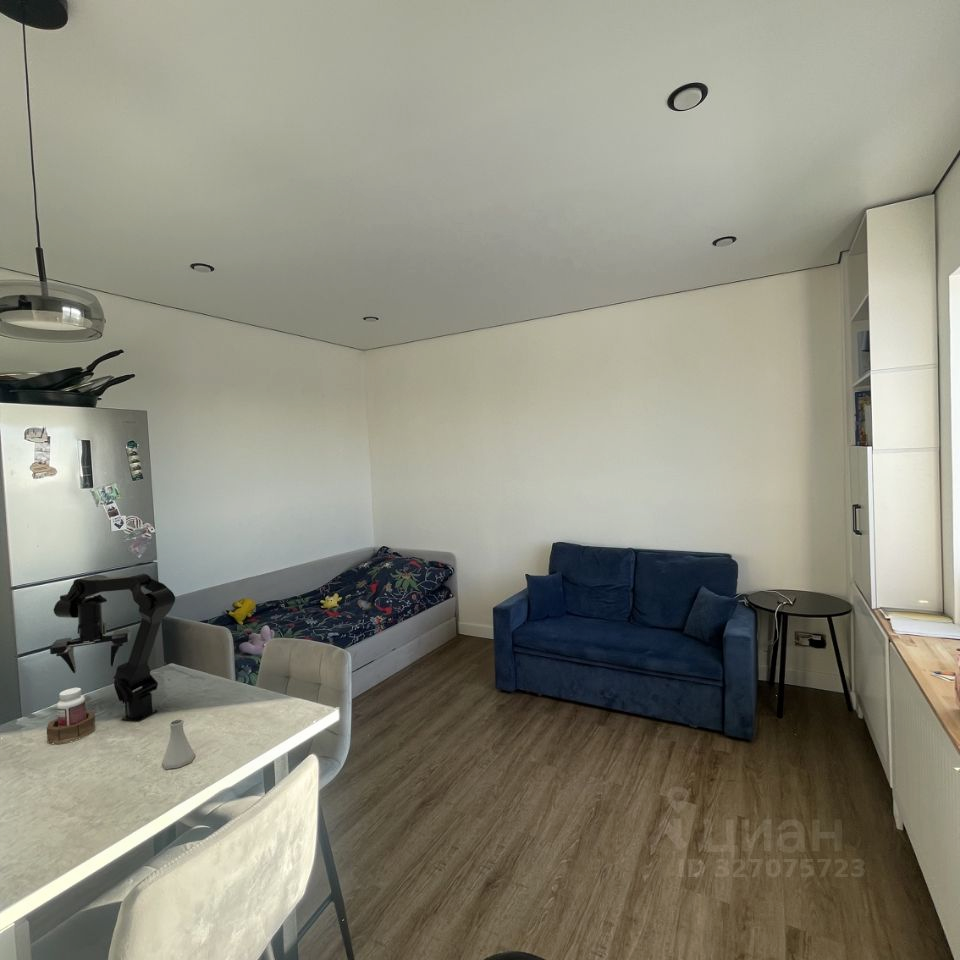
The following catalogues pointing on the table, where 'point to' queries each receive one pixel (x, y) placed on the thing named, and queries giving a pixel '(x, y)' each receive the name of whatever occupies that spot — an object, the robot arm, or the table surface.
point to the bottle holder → (70, 730)
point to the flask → (177, 747)
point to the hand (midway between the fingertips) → (93, 669)
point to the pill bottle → (71, 707)
